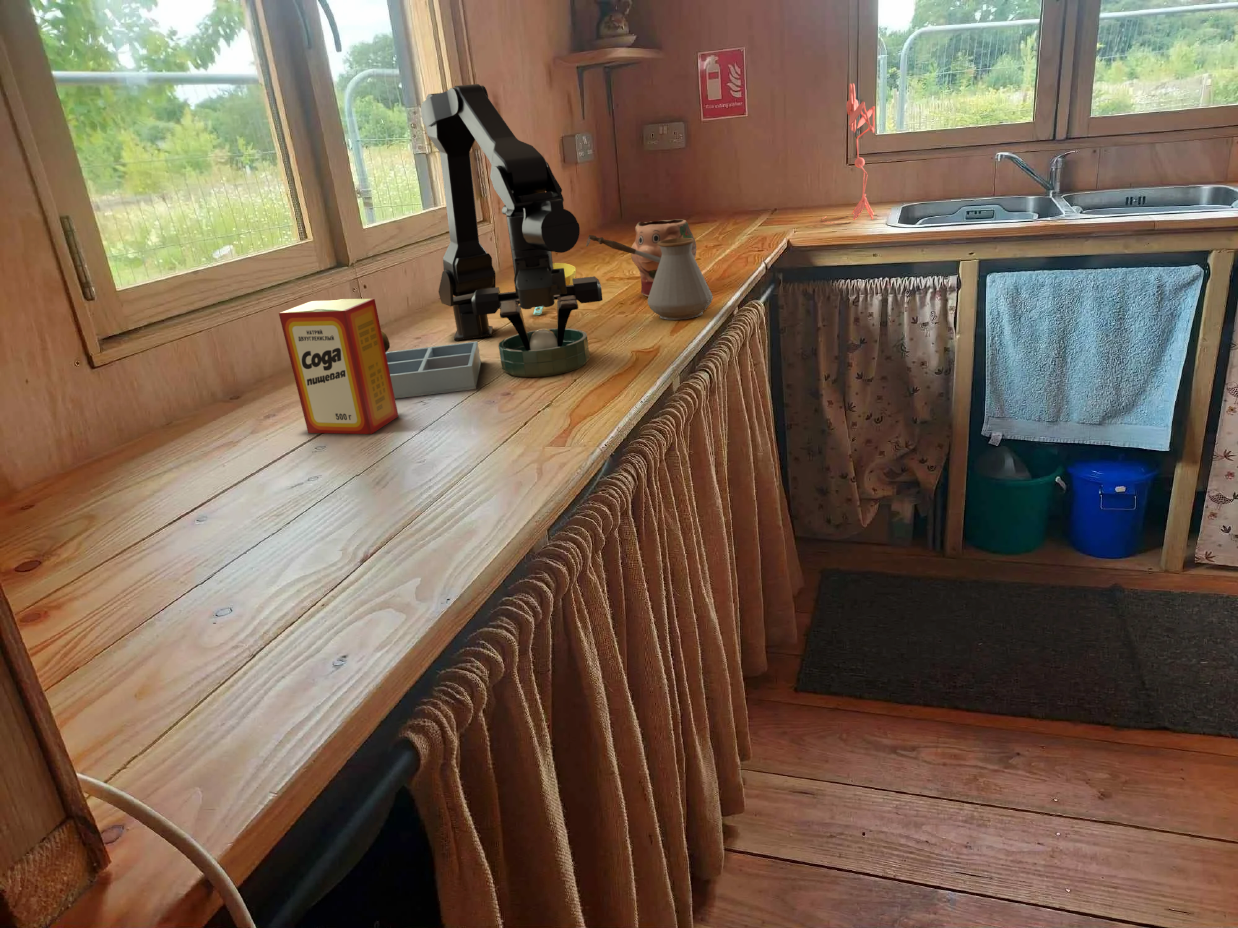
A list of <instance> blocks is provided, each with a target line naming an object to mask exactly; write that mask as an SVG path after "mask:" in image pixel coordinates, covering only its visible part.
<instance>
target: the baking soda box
mask: <svg viewBox="0 0 1238 928" xmlns="http://www.w3.org/2000/svg"><path fill="white" fill-rule="evenodd" d="M278 317H279V320H280V324H281V328H282V333H283V338H284V341H285V345H286V348H287V353H288V357H289V361H290V365H291V369H292V373H293V377H294V381H295V385H296V390H297V393H298V398H299V401H300V406H301V410H302V414H303V418H304V422H305V426H306V430H307V433H308V434H345V435H347V434H349V435H351V434H352V435H355V434H356V435H372V434H374V433H376V432H377V431H378V430H380V429H381V428H383V427H385V426H386V425H388V424H389V423H391V422H392V421H394V420H395V419H397V418H398V417H399V412H398V407H397V402H396V399H395V397H394V392H393V387H392V382H391V377H390V372H389V367H388V362H387V357H386V352H385V348H384V343H383V338H382V333H381V331H382V328H381V323H380V319H379V313H378V309H377V303H376V299H375V298H339V299H337V300H336V299H335V300H310V301H308V302H305V303H302V304H299V305H297V306H294V307H291V308H289V309H286V310H284V311H281V312H278Z"/></svg>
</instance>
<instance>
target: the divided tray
mask: <svg viewBox="0 0 1238 928" xmlns="http://www.w3.org/2000/svg"><path fill="white" fill-rule="evenodd" d="M386 357H387V362H388V367H389V372H390V377H391V382H392V387H393V392H394V397H395V400H396V399H402V398H403V399H404V398H412V397H420V396H429V395H436V394H444V393H446V394H447V393H453V392H463V391H471V390H476V389H477V383H478V379H479V374H480V370H481V365H482V360H481V359H482V358H481V354H480V348H479V341H469V342H461V343H452V344H444V345H436V346H435V345H434V346H426V347H418V348H417V347H416V348H409V349H399V350H392V351H387V352H386Z"/></svg>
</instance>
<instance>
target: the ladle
mask: <svg viewBox="0 0 1238 928" xmlns="http://www.w3.org/2000/svg"><path fill="white" fill-rule="evenodd" d="M559 268H564V272H565V281H566V286H567V285H573V280H572V279H575V278H577V275H576V274H577V267H575V266H574V265H572V264H569V263H565V262H553V269H559ZM544 308H545V307H544V306H541V307H534V310H533V313H532V314H533V316H541V315H542V313H543V310H544Z"/></svg>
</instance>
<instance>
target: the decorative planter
mask: <svg viewBox="0 0 1238 928" xmlns="http://www.w3.org/2000/svg"><path fill="white" fill-rule="evenodd" d="M634 229H635V230H634V231H635V240H634V242H633V243H632V245H631V246H630V247H631V248H633V249H636V250H638V251H641V252H644V253H647V254H651V255H654V256H657V257H661V256H662V252H661V249H660V246H658V245H657V242H659V241H663V240H667V239H674V238H693V239H694V240H695V241H694V242H693V243H692V250H691V252H692V254H693V256H694V258H695V259H696V257H697V242H696V238H695V236H694V234H693V232H692V231H691V228H690V225H689V223H688V221H687V220H686V219H683V218H682V219H666V220H665V219H663V220H662V219H661V220H652V221H651V220H650V221H639V222H638V223H637V224H636V226H635V228H634ZM630 255H631V260H632V262H633V264H634V265H635V266H636V268H637V269H638V271H639V275H640V284H641V289H640V294H641V295H643V296H645V297H649V294H650V291H651V288H652V285H653V281H654V278H655V275H656V272H657V269H658V266H659V263H658V262H655V261H652V260H650V259H647V258H644V257H641V256H639V255H636V254H631V253H630Z"/></svg>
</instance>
